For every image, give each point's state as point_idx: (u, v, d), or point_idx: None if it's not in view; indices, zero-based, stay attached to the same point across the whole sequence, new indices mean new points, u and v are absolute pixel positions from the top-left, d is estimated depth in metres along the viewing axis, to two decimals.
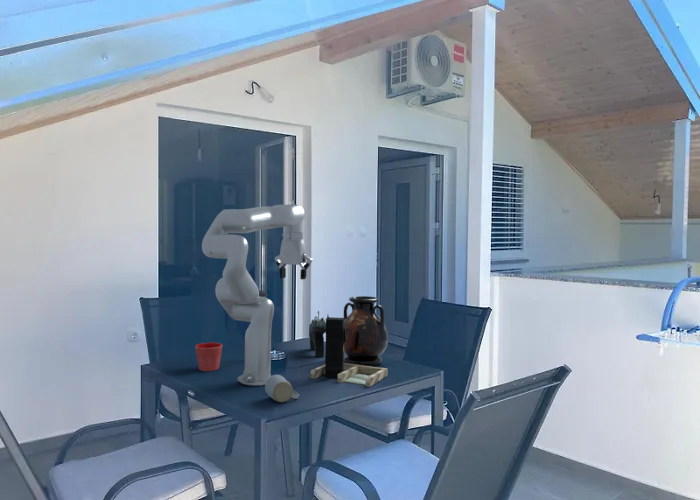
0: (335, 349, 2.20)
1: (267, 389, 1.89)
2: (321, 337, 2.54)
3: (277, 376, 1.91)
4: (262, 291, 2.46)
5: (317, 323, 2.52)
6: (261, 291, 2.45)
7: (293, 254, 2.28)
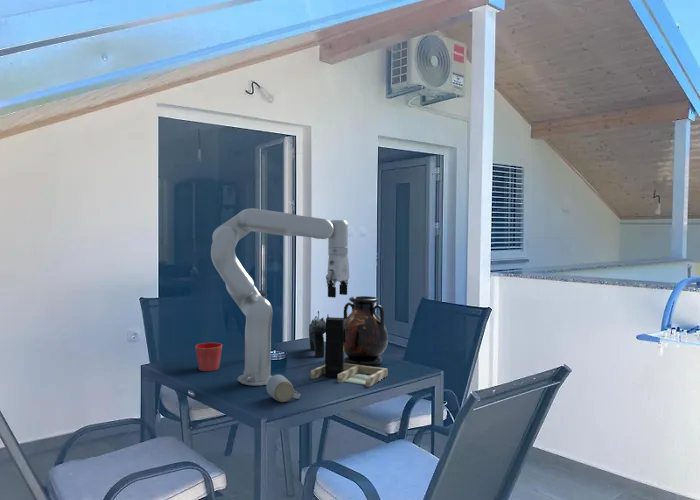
0: (335, 349, 2.20)
1: (268, 389, 1.89)
2: (321, 337, 2.54)
3: (278, 376, 1.91)
4: (262, 291, 2.46)
5: (317, 323, 2.52)
6: (261, 291, 2.45)
7: (346, 270, 2.21)
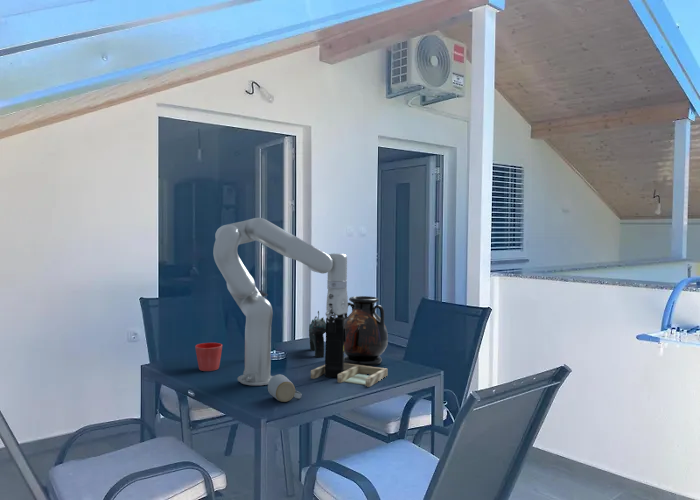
0: (335, 348, 2.20)
1: (270, 389, 1.89)
2: (321, 337, 2.54)
3: (280, 376, 1.91)
4: (262, 291, 2.46)
5: (317, 323, 2.52)
6: (261, 291, 2.45)
7: (345, 303, 2.22)
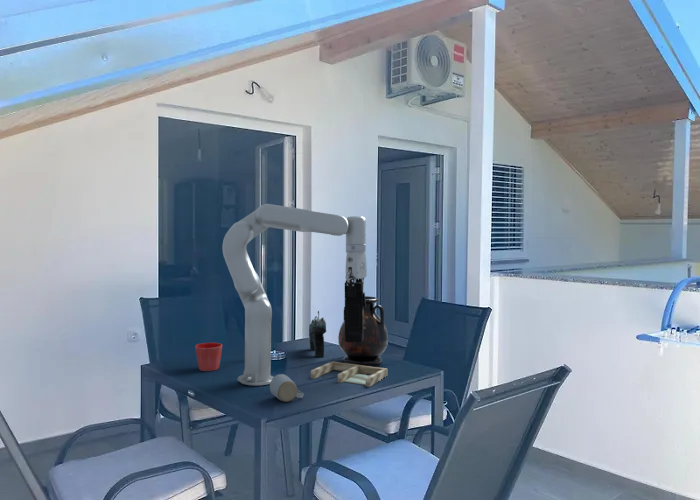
0: (354, 313, 2.17)
1: (272, 388, 1.90)
2: (321, 337, 2.54)
3: (282, 376, 1.92)
4: None
5: (317, 323, 2.52)
6: None
7: (364, 267, 2.18)
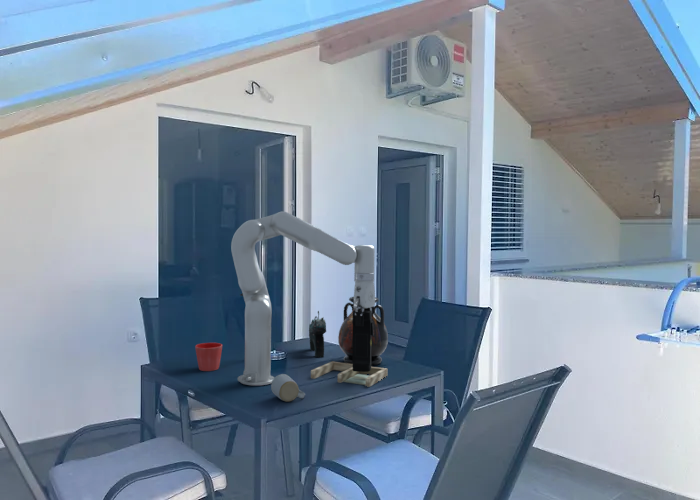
0: (362, 342, 2.15)
1: (273, 388, 1.90)
2: (321, 337, 2.54)
3: (283, 375, 1.92)
4: None
5: (317, 323, 2.52)
6: None
7: (372, 296, 2.17)
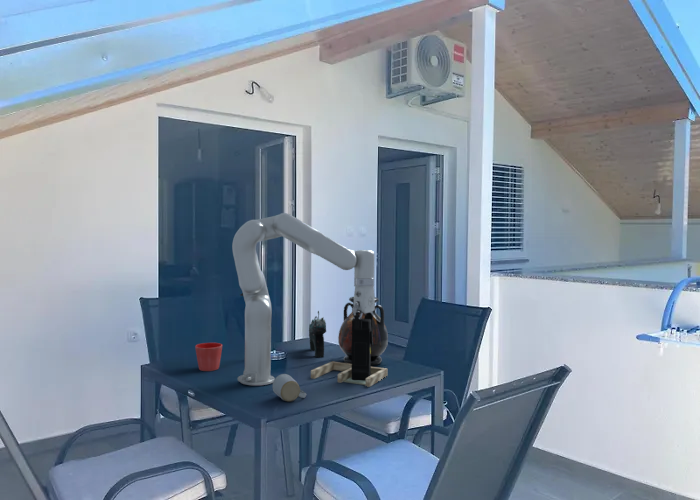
0: (361, 351, 2.15)
1: (275, 388, 1.90)
2: (321, 337, 2.54)
3: (284, 375, 1.92)
4: None
5: (317, 323, 2.52)
6: None
7: (372, 301, 2.17)
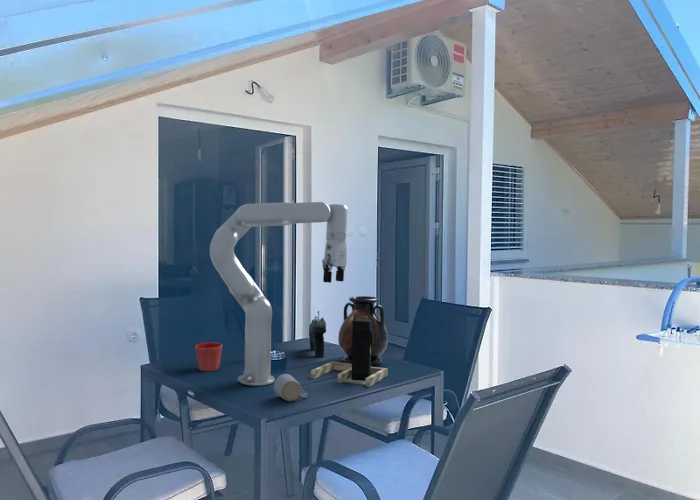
0: (362, 351, 2.15)
1: (276, 388, 1.90)
2: (321, 337, 2.54)
3: (286, 375, 1.92)
4: (262, 291, 2.46)
5: (317, 323, 2.52)
6: (261, 291, 2.45)
7: (343, 256, 2.18)
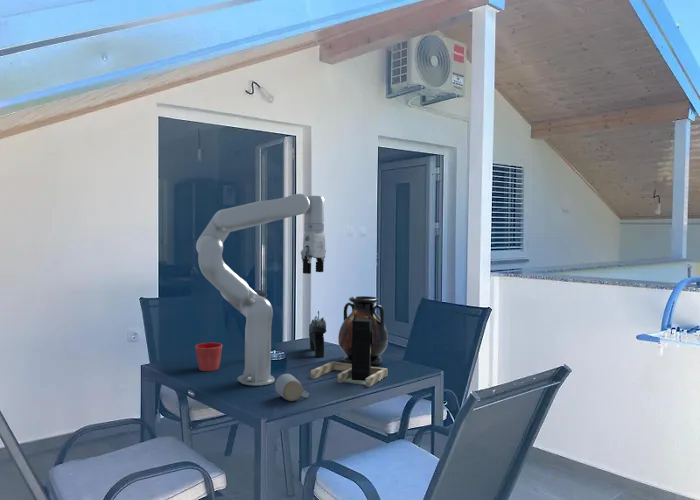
0: (362, 351, 2.15)
1: (277, 388, 1.91)
2: (321, 337, 2.54)
3: (287, 375, 1.93)
4: (262, 291, 2.46)
5: (317, 323, 2.52)
6: (261, 291, 2.45)
7: (322, 246, 2.19)
